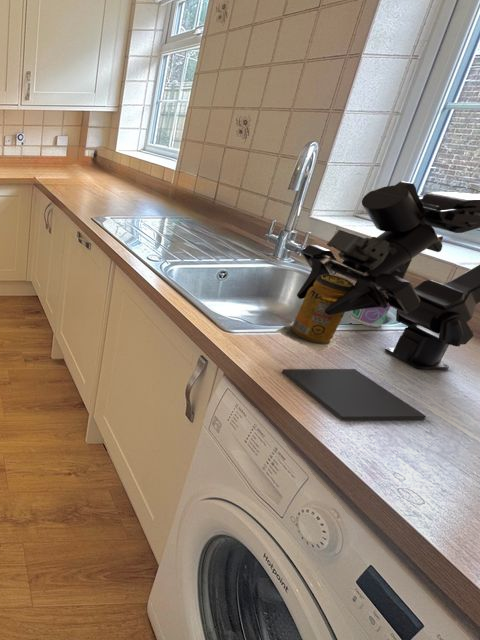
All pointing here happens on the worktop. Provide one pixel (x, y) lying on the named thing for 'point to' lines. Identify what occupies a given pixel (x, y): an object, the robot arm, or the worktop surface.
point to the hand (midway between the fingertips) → (311, 304)
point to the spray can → (376, 314)
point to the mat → (351, 395)
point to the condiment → (318, 313)
